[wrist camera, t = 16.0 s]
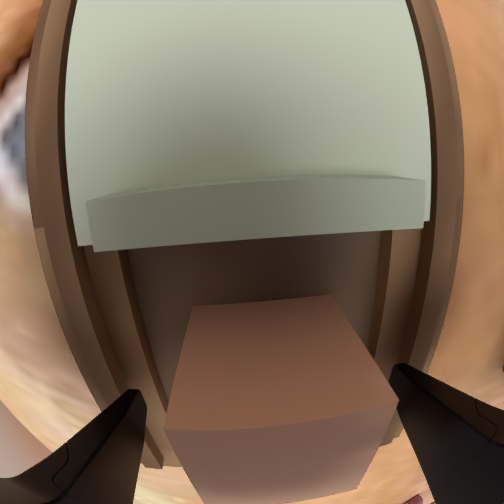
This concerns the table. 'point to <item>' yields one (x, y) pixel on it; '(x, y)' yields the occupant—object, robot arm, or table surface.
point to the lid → (243, 120)
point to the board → (236, 252)
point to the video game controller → (416, 500)
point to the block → (276, 402)
